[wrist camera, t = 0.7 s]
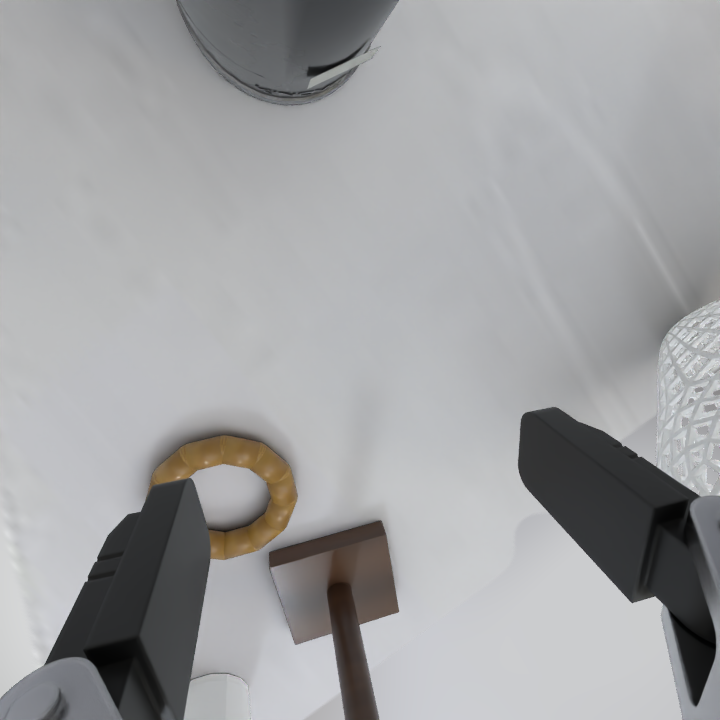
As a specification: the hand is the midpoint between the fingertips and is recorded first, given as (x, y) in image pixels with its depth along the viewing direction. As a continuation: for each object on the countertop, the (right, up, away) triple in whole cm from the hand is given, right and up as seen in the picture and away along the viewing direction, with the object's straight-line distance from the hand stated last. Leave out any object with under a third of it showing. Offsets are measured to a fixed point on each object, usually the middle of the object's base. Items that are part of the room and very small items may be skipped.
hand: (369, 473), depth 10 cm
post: (-2, -15, +24) cm, 28 cm away
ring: (-10, -7, +18) cm, 21 cm away
